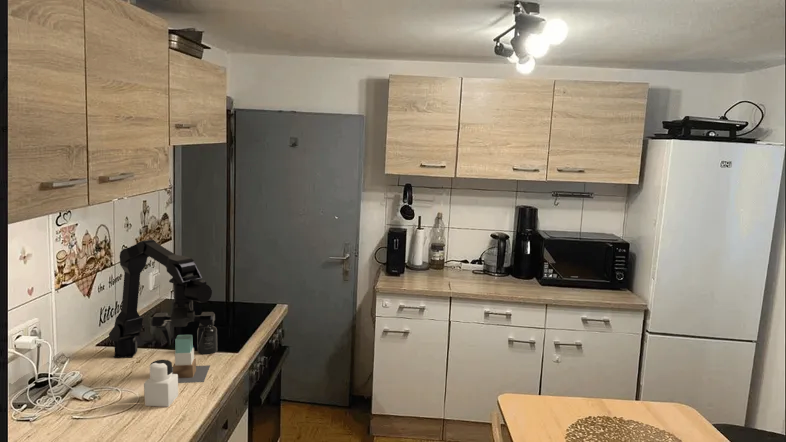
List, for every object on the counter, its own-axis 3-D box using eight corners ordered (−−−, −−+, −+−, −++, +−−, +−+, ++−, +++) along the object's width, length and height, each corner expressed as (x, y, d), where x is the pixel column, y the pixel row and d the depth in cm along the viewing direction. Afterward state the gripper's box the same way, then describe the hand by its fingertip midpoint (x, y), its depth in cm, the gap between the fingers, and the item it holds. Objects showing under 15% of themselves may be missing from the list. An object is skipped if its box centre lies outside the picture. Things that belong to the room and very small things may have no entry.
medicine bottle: (155, 395, 173) (154, 357, 172) (178, 396, 173) (177, 357, 171) (144, 406, 166) (142, 366, 164) (168, 407, 166) (167, 367, 164)
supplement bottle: (220, 349, 213) (219, 317, 211) (212, 356, 206) (212, 323, 204) (202, 348, 213) (201, 316, 212) (194, 355, 207) (193, 322, 205)
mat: (157, 385, 181) (157, 383, 180) (167, 367, 194) (167, 366, 194) (203, 383, 183) (203, 381, 183) (210, 366, 197) (210, 365, 196)
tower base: (173, 378, 185) (173, 366, 185) (177, 370, 191) (176, 359, 190) (192, 377, 186) (192, 365, 186) (196, 370, 192) (195, 358, 191)
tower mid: (174, 365, 185) (174, 353, 185) (178, 359, 190) (177, 348, 189) (191, 364, 186) (191, 353, 185) (194, 359, 191) (193, 347, 190)
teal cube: (175, 353, 185) (175, 339, 184) (178, 348, 189) (178, 335, 189) (190, 352, 186) (189, 339, 185) (192, 347, 190) (192, 334, 189)
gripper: (146, 305, 176) (147, 354, 178) (209, 303, 179) (210, 352, 181) (154, 295, 187) (156, 342, 189) (214, 294, 190) (215, 340, 192)
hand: (184, 344), depth 187 cm, fingers open, 9 cm apart
